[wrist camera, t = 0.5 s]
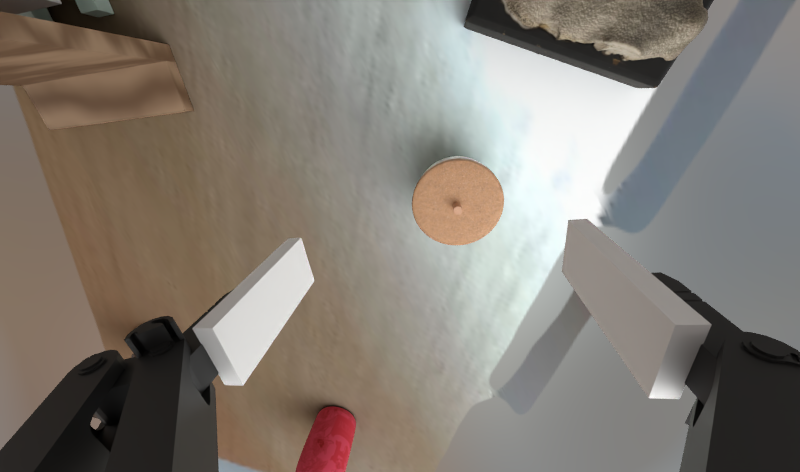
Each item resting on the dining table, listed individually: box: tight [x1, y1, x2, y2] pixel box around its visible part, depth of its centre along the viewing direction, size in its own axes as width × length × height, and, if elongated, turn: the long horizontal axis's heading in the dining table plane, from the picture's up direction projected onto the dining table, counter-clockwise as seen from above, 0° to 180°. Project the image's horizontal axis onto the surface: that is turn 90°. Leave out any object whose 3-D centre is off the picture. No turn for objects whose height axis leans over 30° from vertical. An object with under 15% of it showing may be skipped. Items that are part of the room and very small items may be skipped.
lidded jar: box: [412, 156, 504, 245], centre depth 37 cm, size 11×11×9 cm
